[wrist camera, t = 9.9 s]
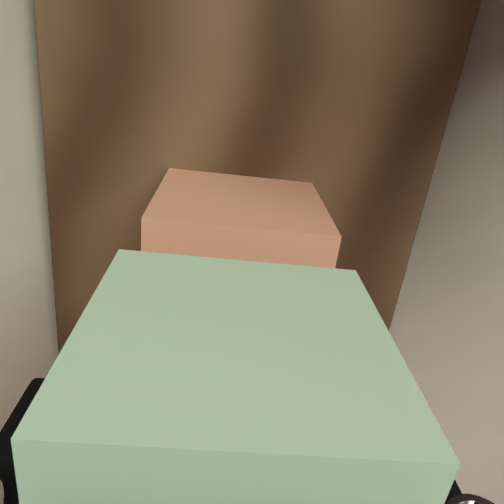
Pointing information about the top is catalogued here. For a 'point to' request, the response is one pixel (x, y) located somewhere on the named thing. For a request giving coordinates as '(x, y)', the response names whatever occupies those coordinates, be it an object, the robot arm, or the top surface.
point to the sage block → (230, 394)
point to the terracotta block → (240, 219)
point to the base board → (244, 118)
